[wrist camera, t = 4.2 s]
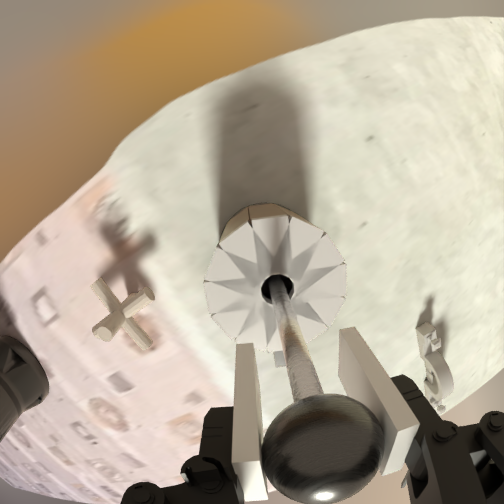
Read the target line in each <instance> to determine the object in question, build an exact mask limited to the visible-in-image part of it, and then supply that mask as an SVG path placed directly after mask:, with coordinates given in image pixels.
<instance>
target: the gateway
mask: <svg viewBox="0 0 504 504" xmlns="http://www.w3.org/2000/svg"><path fill="white" fill-rule="evenodd" d="M416 333H417V339H418V344H419V350H420V357H421V358H422V359H423V360H424V361H425V367H426V374H427V380H425V381H424V387H425V396H426V399H427V400H428V401H429V403H430V404H431V405H432V407H433V408H435V407H437V406H438V407H437V410H438V415H439V414H441V413H443V412H444V411H445V406H443V405H440V404H441V403H442V399H444V398H445V397H447V396H448V395H450V394H451V393H452V392H453V389H454V383H453V378H452V375H451V372H450V369H449V367H448V365H447V363H446V361H445V360H444V358H443V357H442V356H441V355H440V353H439V352H438V351H437V349H438V348H440V347H441V338H439V339H437V336H436V329H435V328H434V327H433V326H432V325H431V324H429V323H428V322H425V323H424V324H422V325H421V326H419V327H417V328H416ZM432 371H433V373H434V375H435V376H434V375H432V374H431V373H432ZM439 405H440V406H439Z"/></svg>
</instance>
